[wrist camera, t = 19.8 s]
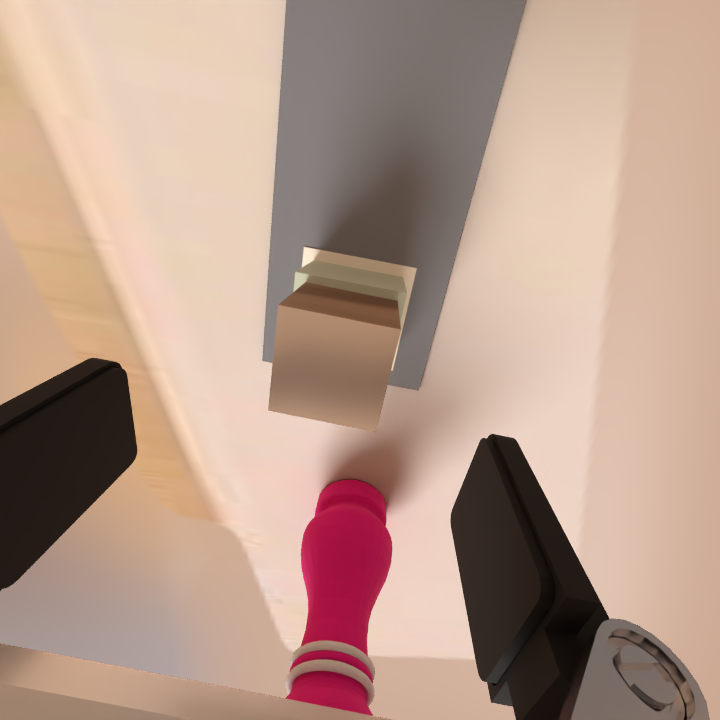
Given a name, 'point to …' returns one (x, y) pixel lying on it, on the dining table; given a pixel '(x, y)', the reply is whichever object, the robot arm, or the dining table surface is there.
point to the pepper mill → (341, 597)
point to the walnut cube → (333, 355)
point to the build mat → (384, 146)
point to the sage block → (353, 281)
